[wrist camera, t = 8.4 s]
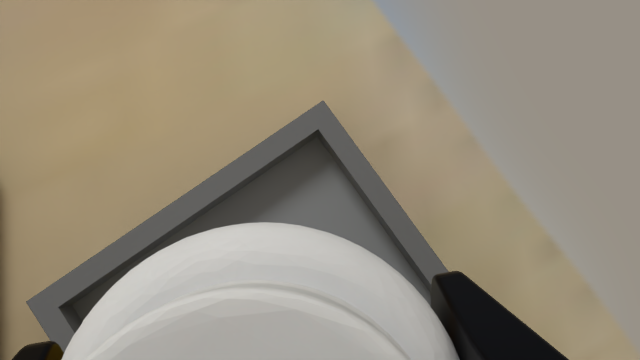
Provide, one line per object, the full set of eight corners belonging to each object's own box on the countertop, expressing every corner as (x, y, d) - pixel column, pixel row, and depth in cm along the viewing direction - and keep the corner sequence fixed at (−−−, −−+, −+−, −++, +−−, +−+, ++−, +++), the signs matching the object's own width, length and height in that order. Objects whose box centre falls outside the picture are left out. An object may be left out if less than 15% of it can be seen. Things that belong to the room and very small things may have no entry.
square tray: (515, 378, 16) (532, 387, 15) (237, 598, 15) (231, 627, 14) (321, 111, 17) (323, 100, 16) (46, 298, 16) (25, 301, 15)
